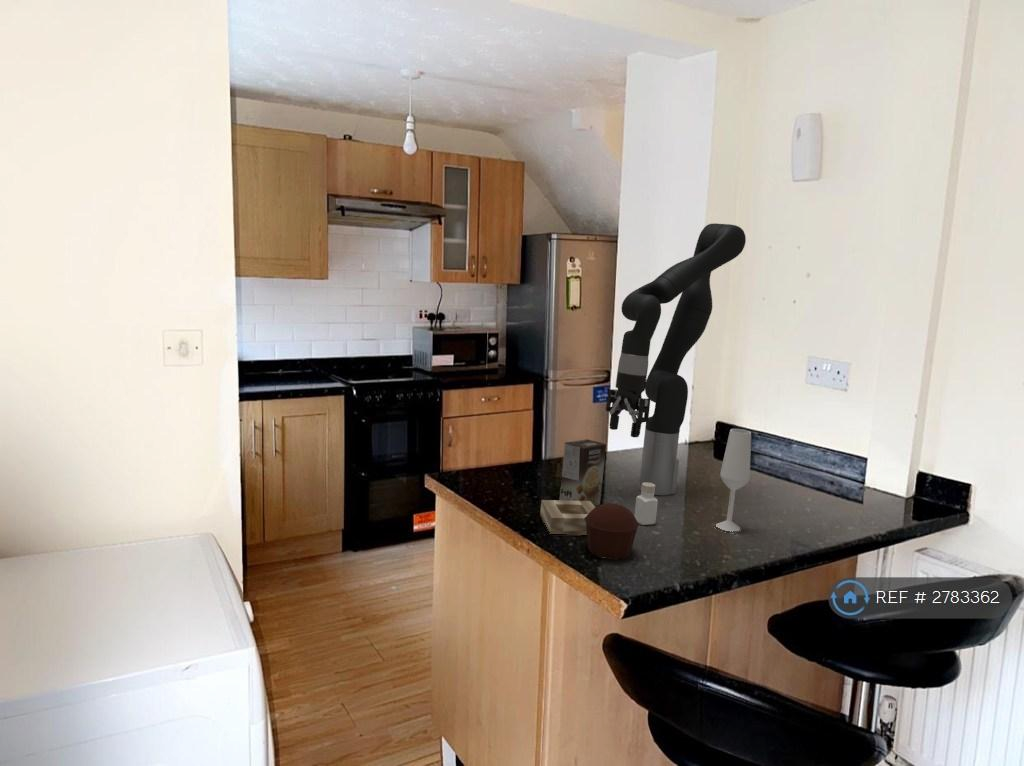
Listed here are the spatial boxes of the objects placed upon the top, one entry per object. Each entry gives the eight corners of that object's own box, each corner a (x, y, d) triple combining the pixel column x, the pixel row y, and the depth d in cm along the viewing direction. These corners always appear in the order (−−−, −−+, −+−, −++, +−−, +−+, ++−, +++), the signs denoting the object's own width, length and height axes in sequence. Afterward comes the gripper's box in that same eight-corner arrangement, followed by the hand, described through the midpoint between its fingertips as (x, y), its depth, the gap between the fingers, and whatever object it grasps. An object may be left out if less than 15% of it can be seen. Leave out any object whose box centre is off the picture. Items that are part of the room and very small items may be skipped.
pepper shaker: (642, 526, 165) (646, 487, 163) (632, 520, 168) (636, 482, 167) (656, 524, 166) (660, 486, 165) (646, 518, 170) (650, 481, 168)
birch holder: (588, 516, 168) (590, 501, 167) (602, 535, 156) (604, 518, 156) (540, 516, 166) (541, 499, 166) (550, 535, 154) (551, 517, 154)
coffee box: (577, 511, 171) (583, 448, 169) (558, 504, 176) (563, 442, 173) (600, 505, 178) (606, 443, 175) (581, 498, 182) (587, 438, 180)
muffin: (606, 537, 156) (610, 494, 154) (646, 554, 148) (651, 509, 146) (570, 548, 148) (574, 503, 146) (611, 567, 140) (616, 519, 138)
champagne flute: (728, 522, 172) (740, 427, 168) (748, 531, 166) (761, 433, 162) (707, 524, 169) (719, 428, 165) (727, 534, 163) (740, 435, 159)
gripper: (662, 376, 175) (653, 439, 178) (625, 368, 187) (617, 426, 190) (639, 375, 171) (630, 440, 174) (603, 366, 183) (595, 426, 186)
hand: (623, 433), depth 182 cm, fingers open, 8 cm apart
